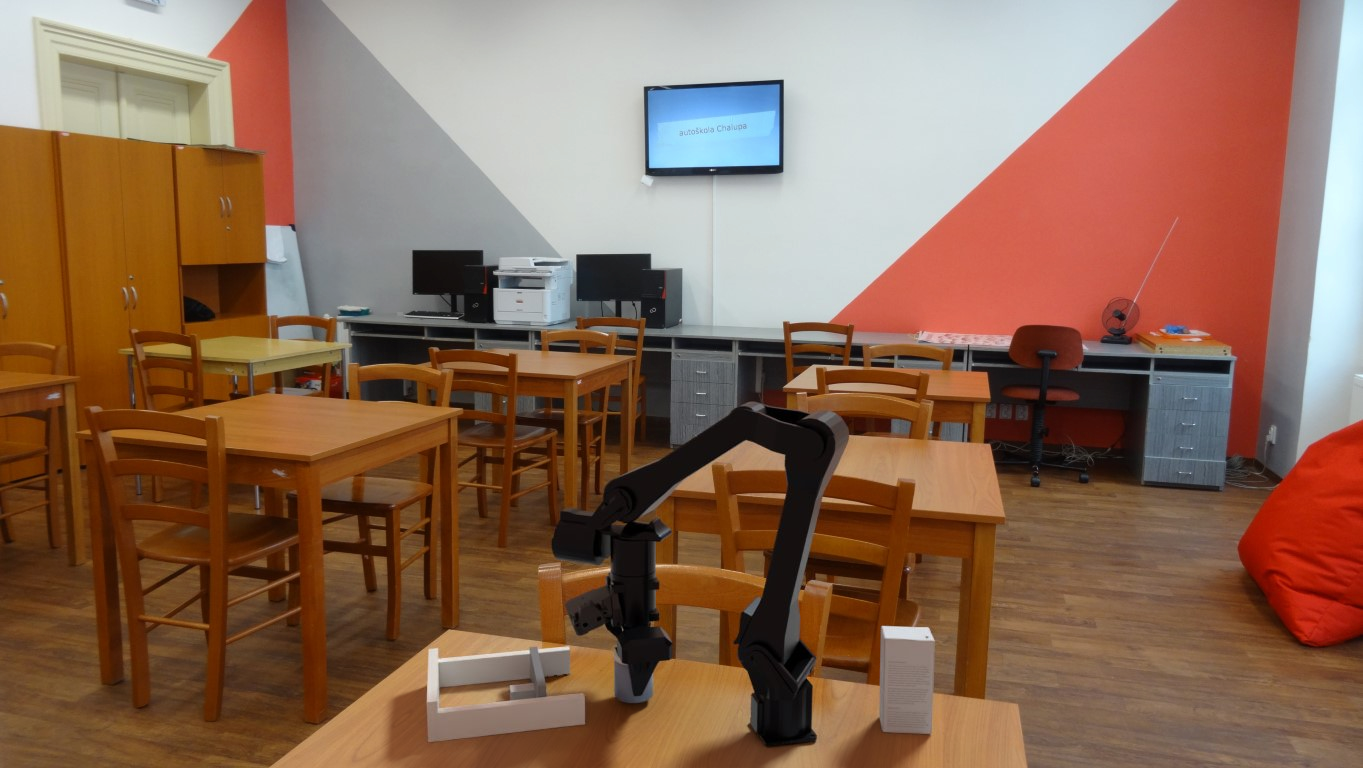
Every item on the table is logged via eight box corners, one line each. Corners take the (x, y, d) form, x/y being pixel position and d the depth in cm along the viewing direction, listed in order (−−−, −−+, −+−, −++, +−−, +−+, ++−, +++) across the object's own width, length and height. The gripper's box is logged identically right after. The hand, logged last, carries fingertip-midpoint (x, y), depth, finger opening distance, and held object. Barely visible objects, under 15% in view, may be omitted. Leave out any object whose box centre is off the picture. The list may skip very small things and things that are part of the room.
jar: (649, 683, 126) (649, 641, 125) (657, 701, 121) (657, 657, 120) (610, 686, 125) (610, 644, 124) (617, 705, 120) (617, 661, 119)
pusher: (537, 677, 129) (537, 646, 128) (546, 719, 117) (546, 685, 117) (507, 680, 128) (506, 649, 127) (513, 722, 117) (513, 688, 116)
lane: (569, 670, 132) (568, 635, 131) (585, 724, 117) (584, 685, 116) (430, 684, 127) (428, 648, 127) (428, 742, 112) (426, 702, 112)
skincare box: (926, 718, 119) (930, 626, 117) (932, 735, 115) (936, 640, 113) (877, 715, 119) (880, 624, 118) (880, 732, 115) (884, 638, 113)
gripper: (560, 551, 128) (562, 662, 130) (579, 601, 110) (581, 728, 112) (642, 545, 130) (642, 654, 132) (673, 593, 112) (673, 717, 115)
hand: (633, 686), depth 123 cm, fingers closed on jar, 5 cm apart
